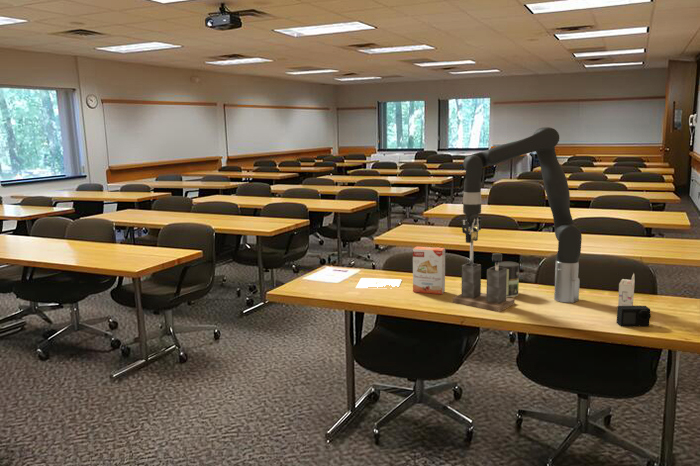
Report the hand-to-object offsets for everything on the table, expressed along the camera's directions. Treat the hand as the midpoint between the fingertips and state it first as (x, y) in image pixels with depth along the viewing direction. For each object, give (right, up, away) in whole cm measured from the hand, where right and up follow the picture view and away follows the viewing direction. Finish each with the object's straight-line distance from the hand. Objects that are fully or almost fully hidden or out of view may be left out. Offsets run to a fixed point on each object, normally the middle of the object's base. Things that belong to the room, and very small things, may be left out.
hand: (471, 241), depth 243 cm
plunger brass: (0, -14, +3) cm, 14 cm away
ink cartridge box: (+60, -28, -13) cm, 67 cm away
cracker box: (-16, -24, +19) cm, 35 cm away
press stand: (+5, -27, +1) cm, 27 cm away
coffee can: (+19, -24, +13) cm, 33 cm away
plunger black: (+10, -23, -4) cm, 26 cm away
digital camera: (+54, -31, -31) cm, 70 cm away
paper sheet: (-39, -23, +30) cm, 55 cm away
